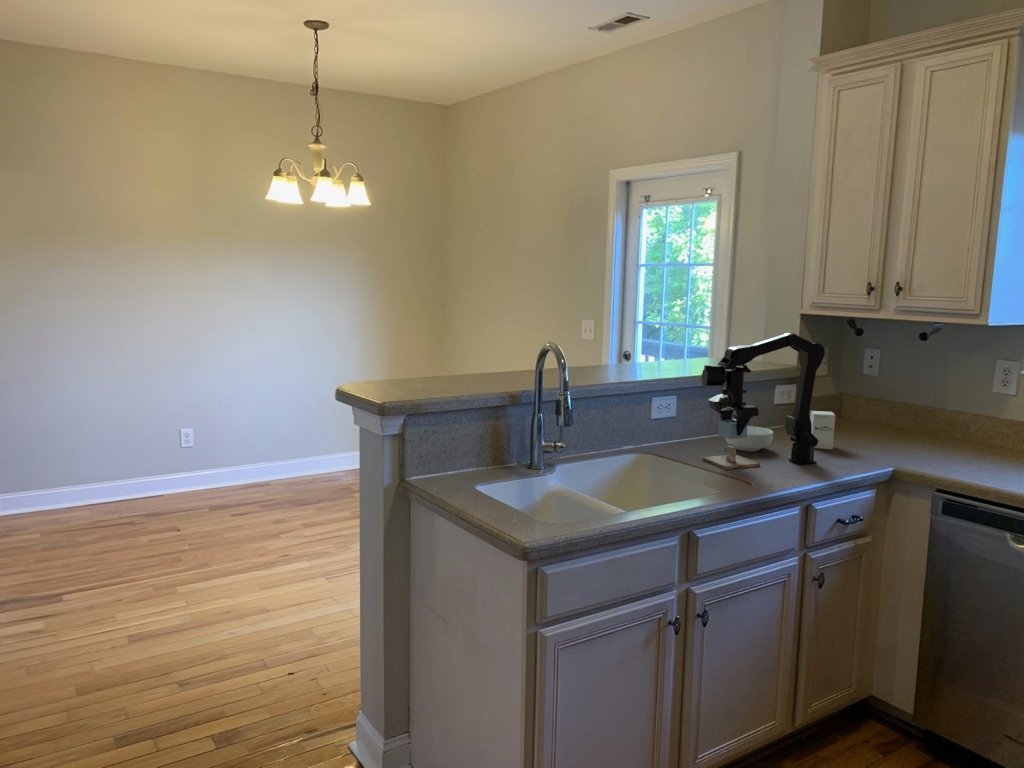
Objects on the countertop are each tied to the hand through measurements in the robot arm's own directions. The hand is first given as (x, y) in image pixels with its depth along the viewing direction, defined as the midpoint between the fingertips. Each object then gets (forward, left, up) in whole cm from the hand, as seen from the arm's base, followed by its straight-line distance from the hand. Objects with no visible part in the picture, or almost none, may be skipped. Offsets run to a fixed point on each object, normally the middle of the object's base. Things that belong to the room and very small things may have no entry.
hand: (732, 433), depth 246 cm
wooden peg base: (0, 0, -10) cm, 10 cm away
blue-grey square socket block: (0, 0, -1) cm, 1 cm away
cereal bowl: (-18, -16, -10) cm, 26 cm away
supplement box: (-45, -10, -10) cm, 48 cm away
